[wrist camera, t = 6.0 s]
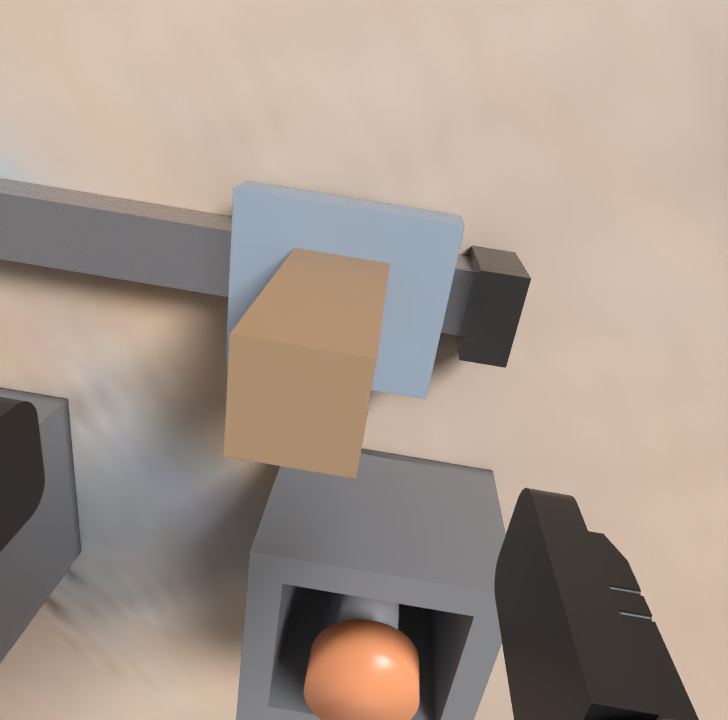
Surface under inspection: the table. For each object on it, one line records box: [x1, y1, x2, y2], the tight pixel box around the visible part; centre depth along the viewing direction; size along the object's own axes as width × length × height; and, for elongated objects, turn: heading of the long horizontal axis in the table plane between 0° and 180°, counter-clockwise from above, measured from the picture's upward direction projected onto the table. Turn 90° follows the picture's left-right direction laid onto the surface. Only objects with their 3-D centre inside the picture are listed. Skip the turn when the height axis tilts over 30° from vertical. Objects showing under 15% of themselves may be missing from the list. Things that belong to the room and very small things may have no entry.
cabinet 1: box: [236, 449, 506, 720], centre depth 24 cm, size 9×9×7 cm
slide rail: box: [0, 179, 531, 368], centre depth 21 cm, size 3×26×3 cm, turn 82°
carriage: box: [224, 181, 464, 479], centre depth 17 cm, size 6×7×11 cm
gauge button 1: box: [304, 594, 419, 720], centre depth 23 cm, size 4×4×8 cm
